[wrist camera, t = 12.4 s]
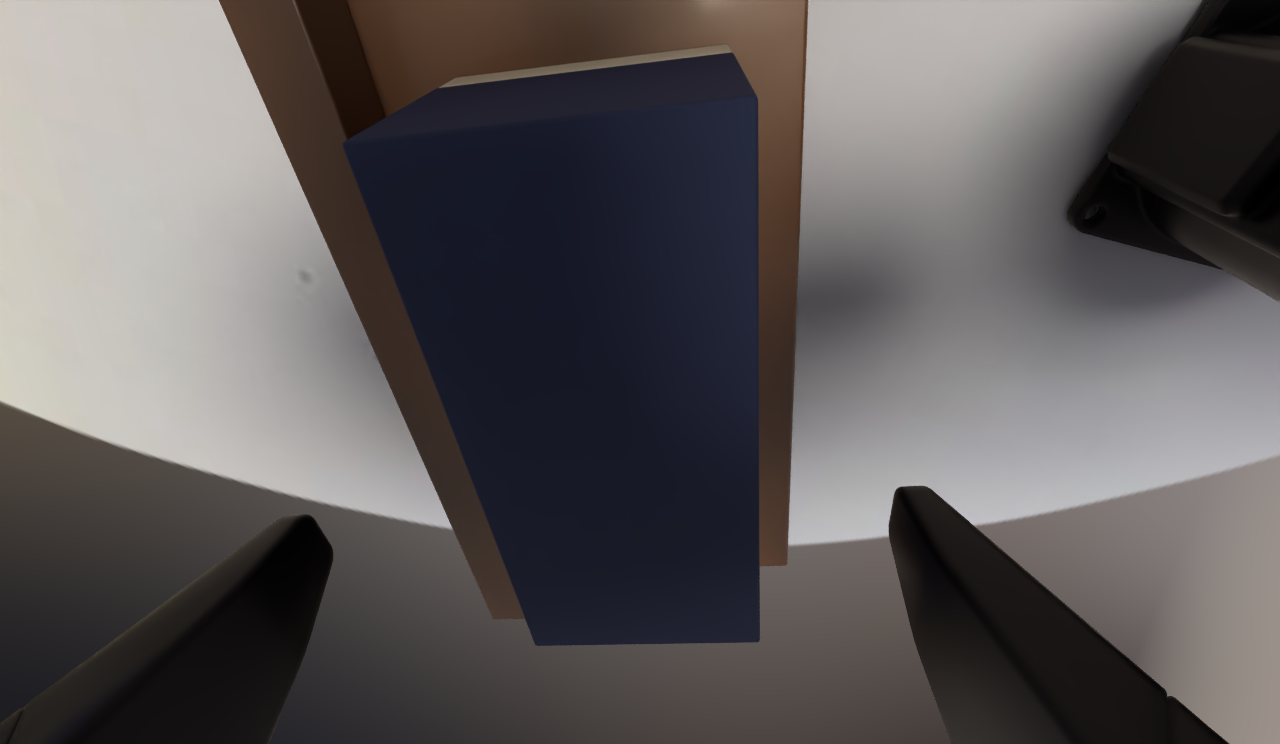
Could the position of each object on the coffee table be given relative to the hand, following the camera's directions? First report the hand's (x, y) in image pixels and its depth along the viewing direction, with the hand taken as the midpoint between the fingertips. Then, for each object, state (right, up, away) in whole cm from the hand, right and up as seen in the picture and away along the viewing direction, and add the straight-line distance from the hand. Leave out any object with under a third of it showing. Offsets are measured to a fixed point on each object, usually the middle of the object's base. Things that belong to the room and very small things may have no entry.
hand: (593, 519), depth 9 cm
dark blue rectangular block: (0, +3, +5) cm, 6 cm away
